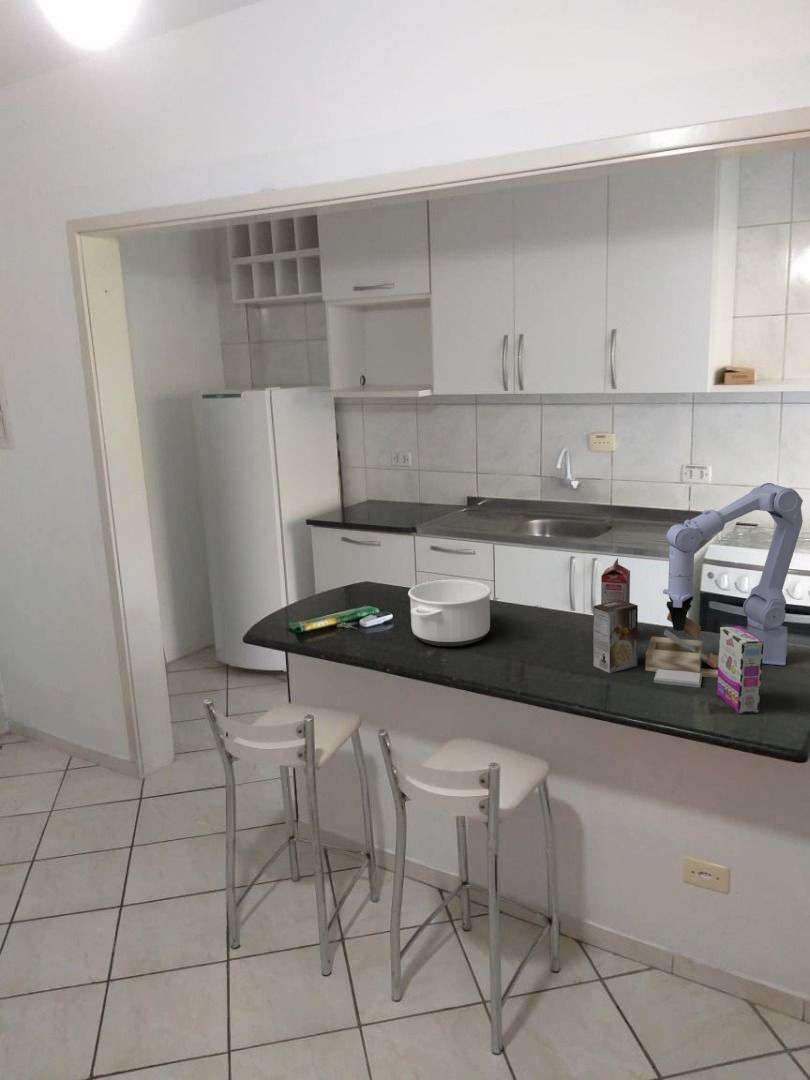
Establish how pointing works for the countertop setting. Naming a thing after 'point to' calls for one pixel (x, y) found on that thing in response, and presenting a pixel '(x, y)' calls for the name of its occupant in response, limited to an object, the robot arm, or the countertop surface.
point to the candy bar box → (739, 669)
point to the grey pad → (678, 678)
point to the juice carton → (615, 584)
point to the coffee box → (615, 635)
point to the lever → (694, 650)
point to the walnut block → (689, 626)
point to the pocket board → (676, 657)
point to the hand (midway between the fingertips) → (679, 627)
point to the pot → (450, 612)
